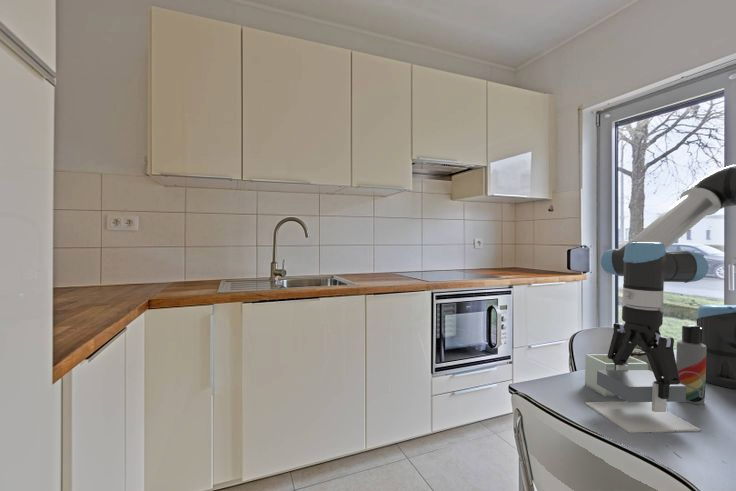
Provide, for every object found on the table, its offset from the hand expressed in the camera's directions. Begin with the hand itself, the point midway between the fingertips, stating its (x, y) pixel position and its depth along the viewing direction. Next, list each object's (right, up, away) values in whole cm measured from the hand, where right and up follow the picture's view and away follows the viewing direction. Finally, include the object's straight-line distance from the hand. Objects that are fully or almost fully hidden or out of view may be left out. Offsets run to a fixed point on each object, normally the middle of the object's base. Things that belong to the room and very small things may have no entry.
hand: (638, 400), depth 80 cm
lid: (0, +2, 0) cm, 2 cm away
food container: (+18, -4, +21) cm, 28 cm away
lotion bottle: (+21, -4, +9) cm, 23 cm away
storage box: (+5, -4, +14) cm, 15 cm away
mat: (0, -4, 0) cm, 4 cm away
